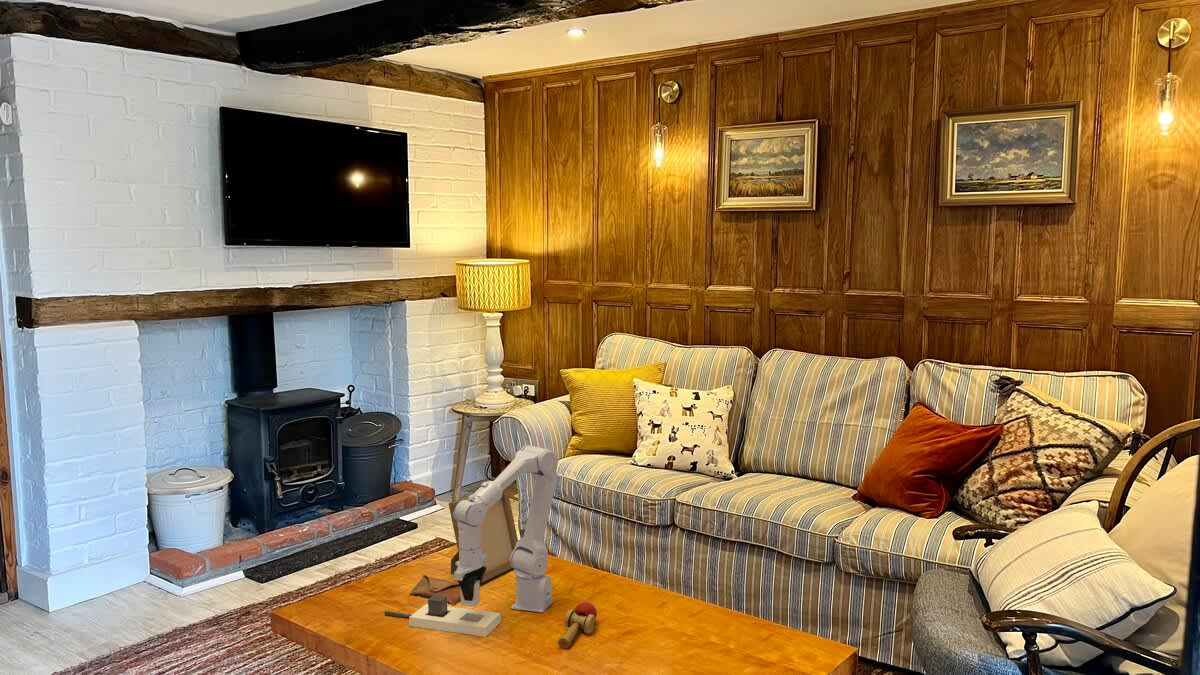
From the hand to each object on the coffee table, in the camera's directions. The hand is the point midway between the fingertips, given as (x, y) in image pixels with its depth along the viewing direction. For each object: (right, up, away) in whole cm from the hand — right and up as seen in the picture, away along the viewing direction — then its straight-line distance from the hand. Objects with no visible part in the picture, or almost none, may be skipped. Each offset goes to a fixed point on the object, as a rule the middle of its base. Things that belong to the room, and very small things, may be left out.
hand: (471, 597), depth 229 cm
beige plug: (0, -2, 0) cm, 2 cm away
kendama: (+28, -8, -4) cm, 29 cm away
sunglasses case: (-12, -7, +22) cm, 26 cm away
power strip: (-9, -8, +4) cm, 13 cm away
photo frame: (-3, -4, +40) cm, 40 cm away
